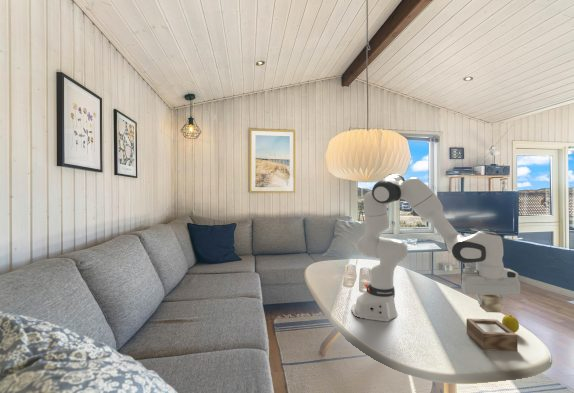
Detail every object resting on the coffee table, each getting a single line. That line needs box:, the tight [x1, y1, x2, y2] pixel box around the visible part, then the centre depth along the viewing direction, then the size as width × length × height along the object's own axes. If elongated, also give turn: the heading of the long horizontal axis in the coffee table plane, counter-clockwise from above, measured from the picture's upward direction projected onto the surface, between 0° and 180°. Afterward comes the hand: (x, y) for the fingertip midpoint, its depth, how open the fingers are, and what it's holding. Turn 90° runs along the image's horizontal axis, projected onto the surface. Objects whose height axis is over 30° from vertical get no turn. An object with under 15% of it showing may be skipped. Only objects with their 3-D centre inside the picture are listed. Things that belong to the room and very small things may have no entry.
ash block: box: [479, 294, 502, 314], centre depth 106 cm, size 5×5×6 cm
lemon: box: [501, 314, 520, 333], centre depth 112 cm, size 6×6×8 cm
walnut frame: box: [466, 318, 518, 352], centre depth 106 cm, size 12×12×6 cm
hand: (490, 304), depth 106 cm, fingers closed on ash block, 5 cm apart
